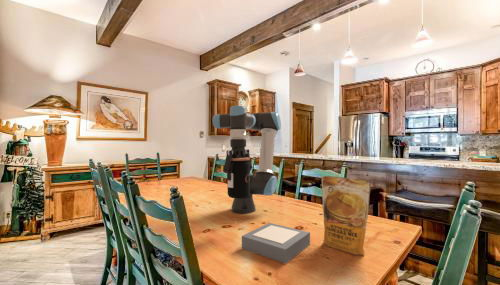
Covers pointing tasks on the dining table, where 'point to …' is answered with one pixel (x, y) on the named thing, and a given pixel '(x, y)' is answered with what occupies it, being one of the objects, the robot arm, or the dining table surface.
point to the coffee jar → (240, 178)
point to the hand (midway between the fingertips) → (238, 185)
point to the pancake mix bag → (345, 213)
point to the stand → (276, 242)
